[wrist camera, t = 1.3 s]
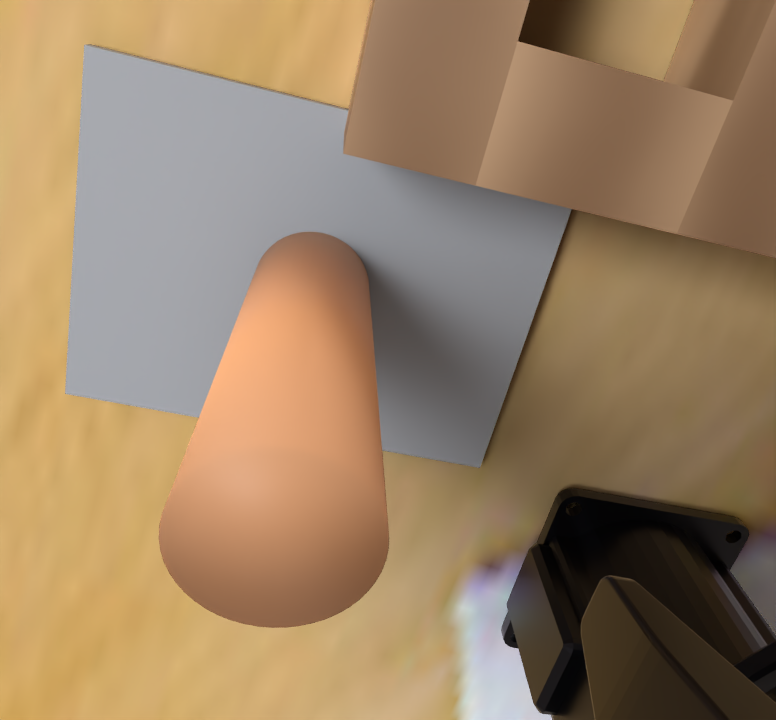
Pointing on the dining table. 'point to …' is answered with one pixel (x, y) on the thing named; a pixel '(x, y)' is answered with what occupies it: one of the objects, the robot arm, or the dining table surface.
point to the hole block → (579, 116)
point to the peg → (286, 450)
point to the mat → (273, 222)
